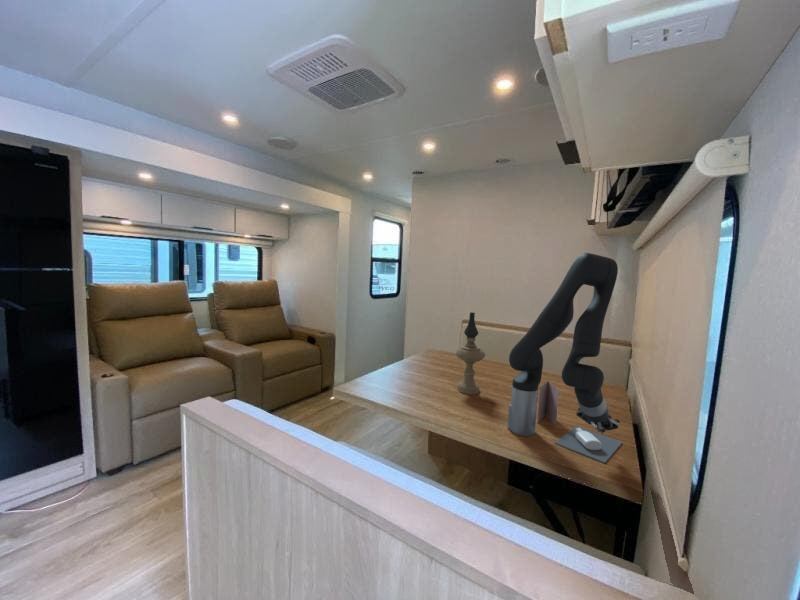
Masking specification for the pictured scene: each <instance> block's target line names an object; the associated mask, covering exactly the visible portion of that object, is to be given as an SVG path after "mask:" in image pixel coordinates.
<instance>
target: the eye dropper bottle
mask: <svg viewBox="0 0 800 600" xmlns="http://www.w3.org/2000/svg"><path fill="white" fill-rule="evenodd" d="M581 428H582V427H581ZM581 428H576V438H577V439H578V440H579V441H580V442H581V443H582V444H583V445H584V446H585V447H586V448H587V449H590V450H599V449H601V448H602V443H601V442H600V441H599V440H598V439H597V438H596V437H594V436H593V435H592V434H591V433H589V432H587V431H583V430H582V429H581Z"/></svg>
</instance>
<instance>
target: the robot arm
mask: <svg viewBox="0 0 800 600" xmlns="http://www.w3.org/2000/svg"><path fill="white" fill-rule="evenodd" d="M618 272H619V267H618V263H617V262H616V260H614V259H613V258H611V257H607V256H602V255H599V254H595V253H590V252H584V253H581V254H579V256H577V257H576V259H575V260H574V261H573V262H572V264H571V266H570V267H569V270H568V271H567V273H566V274H565V276H564V278H563V280H562V282H561V284H559V287H558V288H557V290H555V291H556V292H555V293H554V294H553V296H552V297H551V299H550V300H549V302H548V303H547V304H546V306H544V308H543V309H542V310H541V313H539V314H538V317H537V318H536V319H535V321H534V322H533V323H532V325H531V327H530V328H529V329H528V331H527V332H526V333H525V334H524V336H523V337H522V338H521V339H520V340H519V341H518V342H517V343H516V344H515V345H514V346H513V347H512V349H511V351H510V353H509V356H508V362H509V365H510V367H511V368H512V369H513V370H514V371H519V372H520V373H519V374H518V375H515V377H513V379H512V386H511V400H510V402H511V403H509V404H508V414H507V429H509V430H510V431H511V433H514V434H516V435H519V436H524V437H530V436H534V435H535V433H536V421H537V411H538V409H537V408H538V407H537V406H538V396H539V394H538V392H539V385H540V384H541V382H542V374H543V369H544V368H543V366H544V356H543V352H542V350H541V348H542V347H544V346H546V345H547V344H549V343H551V342H552V341H554V340H555V339H557V338H558V337H560V336H561V334H563V333H564V332H565V331H566V329H567V328H568V326H569V325H570V324H571V323H572V320H573V319H574V314H575V313H574V309H575V307H574V299H575V296H576V294H577V293H578V291H579V290H580V289H581V288H582V287H583V286H584V285H585V286H589V287H593V296H592V299H591V301H590V303H589V305H588V306H587V308H585V310H584V311H583V313H582V314H581V315H580V316H579V318H578V319H577V321H576V323H575V326H574V331H573V339H572V346H571V349H570V353H569V355H568V357H567V360H566V361H565V364H564V365H563V368H562V370H561V380H562V381H563V383H564V385H566V386H568V387H571V388H574V390H573V391H574V394H575V397H576V399H577V404H578V407H579V408H577V411H576V413H575V415H576V416H577V417H578V418H580V419H581V420H582V421H584V422H585V423H586V424H588V425H590V426H591V425H593V427H594V428H595V430H597V433H601V434H604V433H606V431H613V430H617V429H619V427H620V426H619V425H620V423H621V421H620V420H618V419H612V416H611V415H610V414H609V412H610V411H609V409H608V405H607V402H606V399H605V397H604V395H603V392H602V387H603V384H604V380H605V376H604V375H605V374H604V372H603V370H601V369H600V367H598V366H595V365H589V364H584V363H580V361H581V360H582V359H584V358H596V357H598V356H599V355H600V352H601V342H602V333H603V329H604V327H603V326H604V322H605V319H606V314H607V311H608V308H609V305H610V302H611V299H612V295H613V292H614V289H615V286H616V282H617V278H618Z"/></svg>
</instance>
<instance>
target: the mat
mask: <svg viewBox="0 0 800 600" xmlns="http://www.w3.org/2000/svg"><path fill="white" fill-rule="evenodd" d="M576 428H581V429H582V430H583V431H587V432H589V433H591V434H592V435H593V436H594V437H596V438H597V439H598V440H599V441H600V442H601V443H602V448H601V449H599V450H590V449H587V448H586V447H585V446H584V445H583V444H582V443H581V442H580V441H579V440H578V439H577V438H576ZM554 444H556V445H557V446H559V447H563V448H565V449H568V450H570V451H572V452H575V453H577V454H580V455H582V456H585V457H587V458H590V459H593V460H595V461H597V462H599V463H602V464H606V463H607V462H608V461H609V460H610V459H611V457H612V456H613V455H614V454H615V452H616V451H618V449H619V448H620V447H621V445H622V444H623V441H621V440H618V439H615V438H612V437H610V436H606V435H603V434H602V433H601V434H600V433H599V432H595V431H591V430H589V429H586V428H583V427H580V426H578V425H575V426H573V428H571V429H570V430H569V431H567V432H566V433H565V434H564V435H563V436H561V437H560V438H558V440H555V442H554ZM619 446H620V447H619ZM618 447H619V448H618Z"/></svg>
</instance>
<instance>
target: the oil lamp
mask: <svg viewBox="0 0 800 600" xmlns="http://www.w3.org/2000/svg"><path fill="white" fill-rule="evenodd" d="M475 314H476V313H475V312H473V311H472V312H469V320H468V324H467V326H466V328H465V329H464V330H463V334H464V335H465V336H466V343H465V344H462V345H461V346H460V347H458V348H457V349H456V351H455V352H454V353H455V355H456V357H457V358H458V359H459V360H461V361H463V362H464V363H465V365H466V367H465V368H464V370H463V371H462V372H463V375H464V378H463V380H462V381H461V382H459V383H458V384H457V392H459V391H460V393H461V392H462V393H461V394H465V393H466V395H476V394H479V393H480V386H479V384H478V383H477V382H476V381H475V379H474V376H475V374H476V371H475V369H474V368H473V366H474V364H475V363H476V362H480V361H482V360H483V359H484V358H485V357H486V353H485V351H484V350H483V349H482V348H481V347H480V346H479V345H476V343H475V341H476V337H477V336H478V335H479V331H478V327H476V326H477V325H476V322H475V321H476V320H475V318H476V317H475V316H476V315H475Z"/></svg>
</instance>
